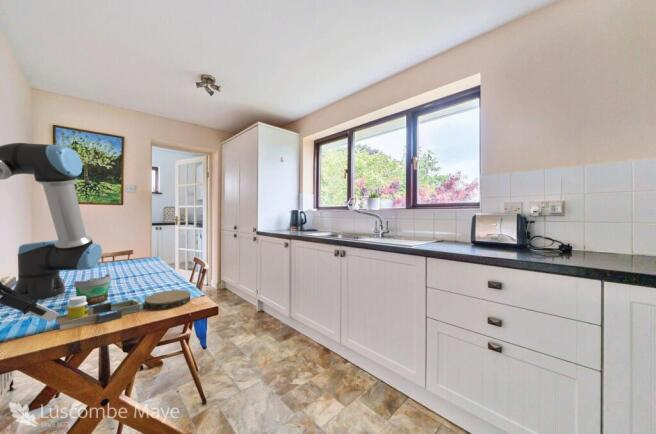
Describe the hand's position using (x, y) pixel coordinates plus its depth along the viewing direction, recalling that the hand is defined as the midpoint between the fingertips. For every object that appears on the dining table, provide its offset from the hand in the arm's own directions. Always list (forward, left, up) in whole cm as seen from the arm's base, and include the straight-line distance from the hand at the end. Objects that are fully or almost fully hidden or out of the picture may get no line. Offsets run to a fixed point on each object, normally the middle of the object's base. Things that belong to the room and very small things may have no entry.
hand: (54, 317), depth 79 cm
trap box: (0, +11, -3) cm, 12 cm away
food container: (-19, +14, -4) cm, 24 cm away
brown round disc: (+2, +32, -4) cm, 32 cm away
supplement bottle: (0, +5, -4) cm, 6 cm away
